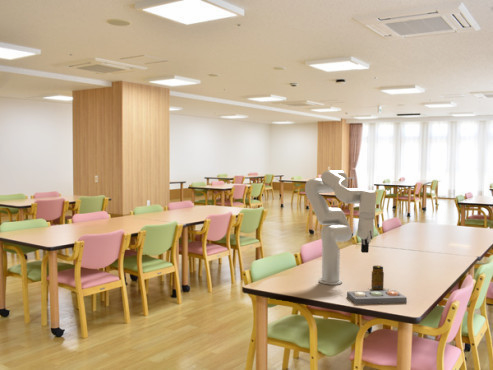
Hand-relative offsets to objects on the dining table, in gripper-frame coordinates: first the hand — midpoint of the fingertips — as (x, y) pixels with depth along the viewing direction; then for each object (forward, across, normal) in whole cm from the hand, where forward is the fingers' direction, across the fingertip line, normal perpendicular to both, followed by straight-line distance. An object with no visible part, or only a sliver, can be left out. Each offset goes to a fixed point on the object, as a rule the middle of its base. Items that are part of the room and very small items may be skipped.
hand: (364, 252), depth 227 cm
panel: (+21, +8, +4) cm, 23 cm away
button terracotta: (+20, +8, +12) cm, 25 cm away
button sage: (+20, +8, +4) cm, 22 cm away
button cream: (+21, +8, -4) cm, 22 cm away
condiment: (+22, -9, +13) cm, 27 cm away
